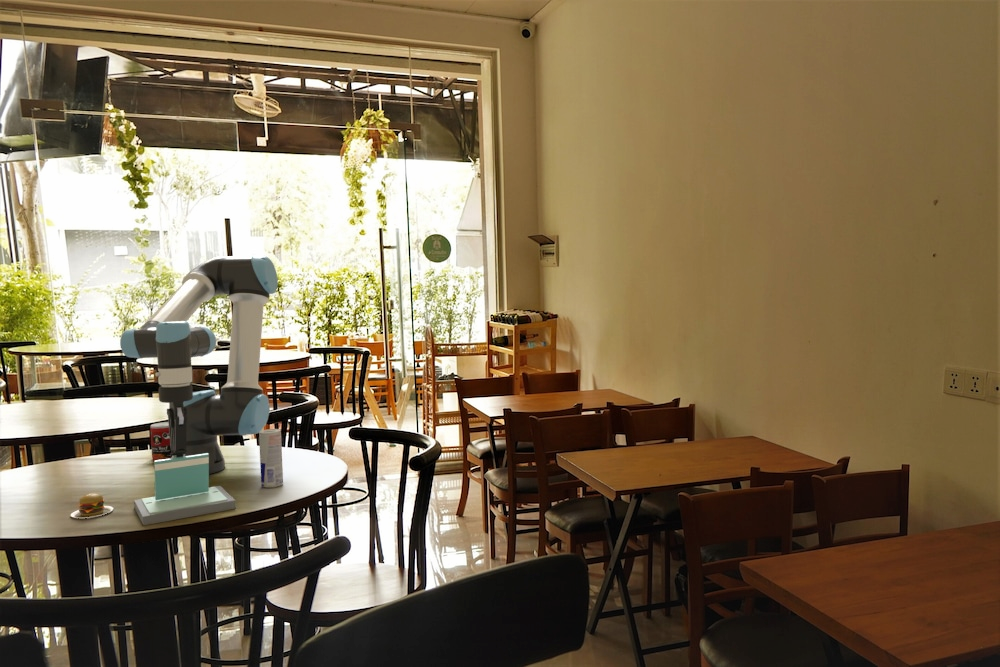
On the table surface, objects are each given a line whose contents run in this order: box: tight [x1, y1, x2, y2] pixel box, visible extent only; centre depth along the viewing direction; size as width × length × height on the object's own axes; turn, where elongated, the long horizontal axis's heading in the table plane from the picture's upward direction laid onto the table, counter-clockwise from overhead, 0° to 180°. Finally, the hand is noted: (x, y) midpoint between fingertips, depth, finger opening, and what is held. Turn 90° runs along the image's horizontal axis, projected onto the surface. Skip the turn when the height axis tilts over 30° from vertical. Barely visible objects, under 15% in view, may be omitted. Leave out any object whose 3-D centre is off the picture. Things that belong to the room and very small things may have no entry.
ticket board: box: [133, 485, 237, 526], centre depth 171 cm, size 16×20×2 cm
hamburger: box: [70, 492, 114, 520], centre depth 169 cm, size 12×12×6 cm
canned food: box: [150, 421, 172, 461], centre depth 225 cm, size 8×8×11 cm
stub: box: [153, 453, 210, 500], centre depth 172 cm, size 1×12×10 cm, turn 124°
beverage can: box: [258, 428, 284, 489], centre depth 189 cm, size 6×6×15 cm
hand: (179, 480), depth 174 cm, fingers closed
